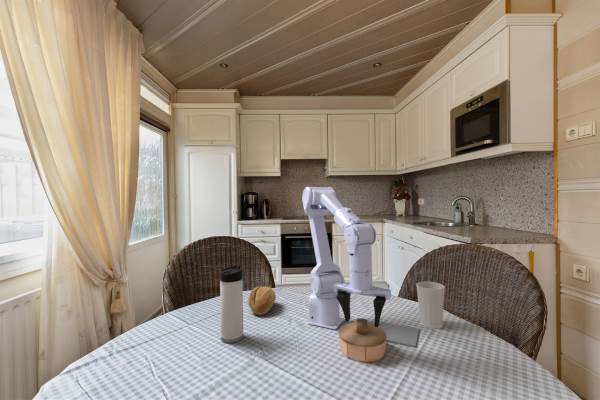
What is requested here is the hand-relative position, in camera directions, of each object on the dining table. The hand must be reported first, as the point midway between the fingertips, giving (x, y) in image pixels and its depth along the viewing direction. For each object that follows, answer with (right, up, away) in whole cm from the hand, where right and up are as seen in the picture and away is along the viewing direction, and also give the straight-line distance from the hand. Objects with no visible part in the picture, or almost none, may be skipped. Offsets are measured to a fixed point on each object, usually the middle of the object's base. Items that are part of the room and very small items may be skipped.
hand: (362, 322), depth 70 cm
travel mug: (-35, -8, +8) cm, 37 cm away
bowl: (0, -7, 0) cm, 7 cm away
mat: (+12, -7, +8) cm, 16 cm away
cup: (+25, -7, +14) cm, 29 cm away
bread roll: (-30, -8, +29) cm, 42 cm away
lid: (0, -3, 0) cm, 3 cm away
